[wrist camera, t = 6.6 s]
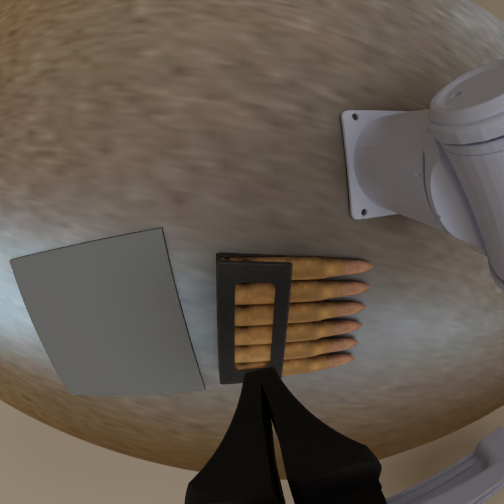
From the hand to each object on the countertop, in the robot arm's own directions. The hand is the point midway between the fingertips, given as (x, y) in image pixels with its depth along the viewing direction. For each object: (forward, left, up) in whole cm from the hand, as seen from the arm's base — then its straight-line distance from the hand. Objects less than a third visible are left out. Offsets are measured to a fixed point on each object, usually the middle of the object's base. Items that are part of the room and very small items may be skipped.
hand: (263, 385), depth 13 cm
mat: (+13, +2, -10) cm, 16 cm away
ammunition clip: (+3, +2, -9) cm, 10 cm away
